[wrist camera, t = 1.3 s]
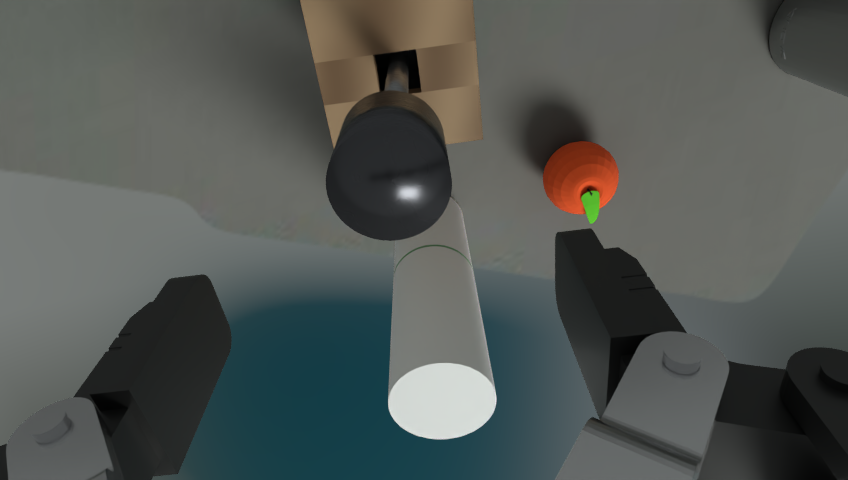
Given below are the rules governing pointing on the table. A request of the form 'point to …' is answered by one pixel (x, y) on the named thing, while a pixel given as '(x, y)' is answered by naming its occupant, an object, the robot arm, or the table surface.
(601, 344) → the robot arm
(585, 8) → the table surface
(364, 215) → the plunger
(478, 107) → the box
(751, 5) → the table surface
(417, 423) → the cylindrical container
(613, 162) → the clementine
